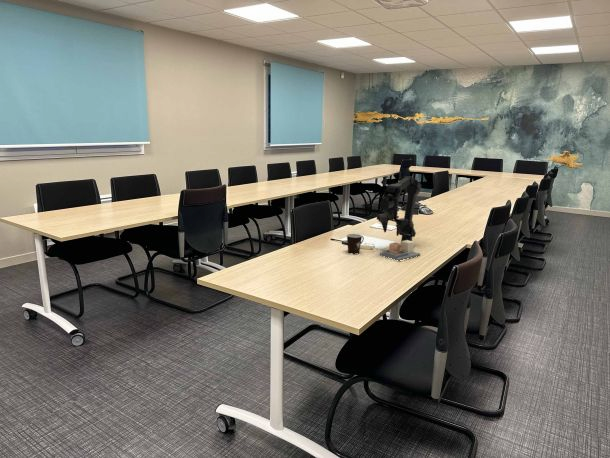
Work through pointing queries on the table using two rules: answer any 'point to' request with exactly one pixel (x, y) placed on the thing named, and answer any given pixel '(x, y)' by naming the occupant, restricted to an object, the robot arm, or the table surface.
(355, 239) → the coffee mug
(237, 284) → the table surface
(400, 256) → the socket board
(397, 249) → the terracotta block
